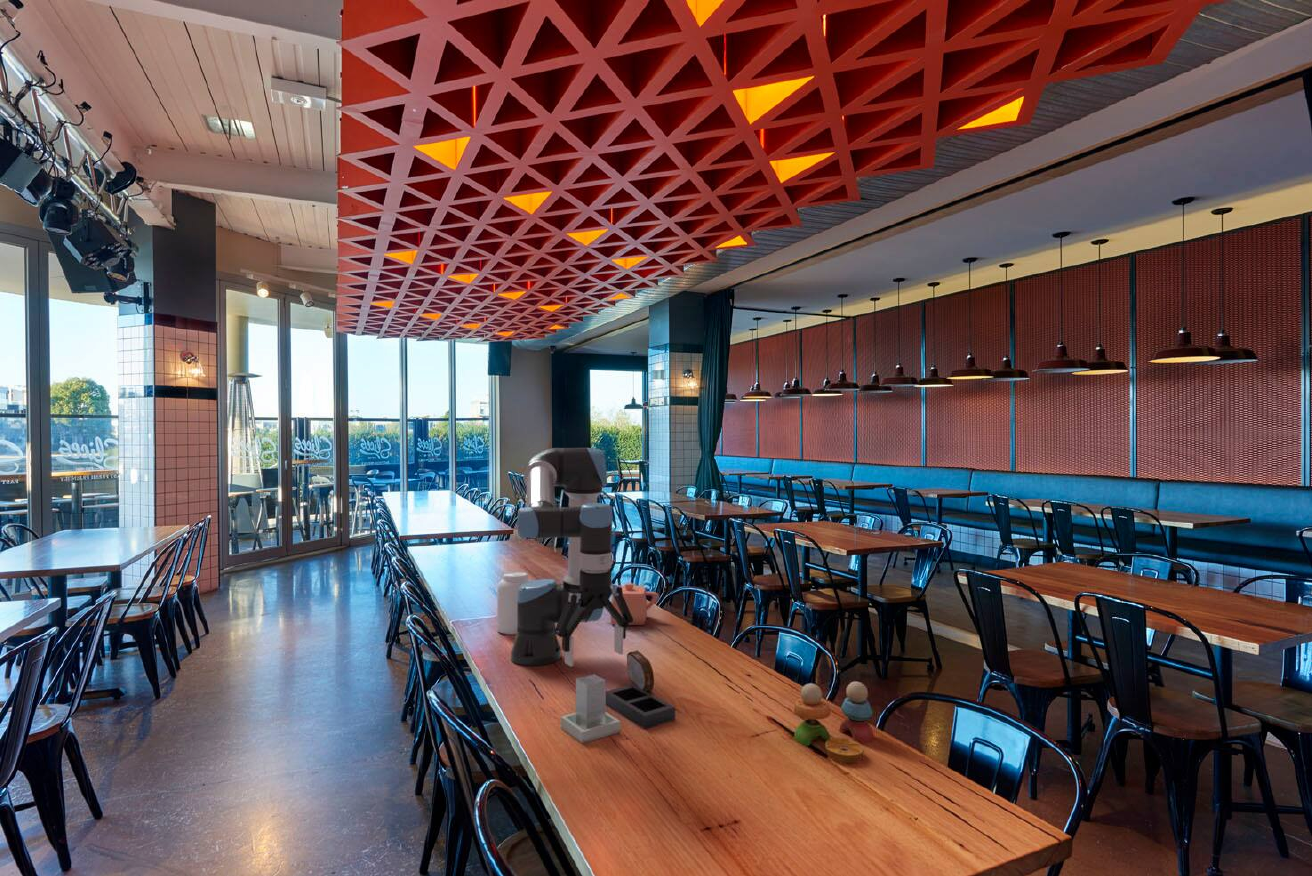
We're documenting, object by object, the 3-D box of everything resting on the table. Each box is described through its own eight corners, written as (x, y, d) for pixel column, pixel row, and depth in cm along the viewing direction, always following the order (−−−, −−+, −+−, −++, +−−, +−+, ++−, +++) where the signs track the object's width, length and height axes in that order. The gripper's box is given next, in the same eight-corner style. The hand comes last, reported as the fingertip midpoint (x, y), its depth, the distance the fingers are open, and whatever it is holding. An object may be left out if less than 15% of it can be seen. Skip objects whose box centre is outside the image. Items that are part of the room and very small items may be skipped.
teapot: (658, 627, 236) (658, 588, 236) (597, 626, 236) (597, 588, 236) (658, 612, 256) (659, 577, 256) (602, 612, 256) (602, 576, 256)
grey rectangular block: (575, 726, 152) (576, 678, 152) (594, 720, 155) (594, 674, 155) (586, 734, 148) (586, 685, 148) (605, 728, 151) (605, 680, 151)
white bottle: (540, 628, 232) (541, 572, 232) (515, 637, 222) (515, 578, 222) (514, 623, 239) (515, 568, 239) (489, 631, 228) (489, 574, 229)
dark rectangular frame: (603, 703, 167) (603, 691, 167) (633, 695, 172) (633, 684, 172) (644, 729, 152) (644, 716, 152) (675, 719, 157) (675, 707, 157)
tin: (655, 695, 173) (655, 663, 173) (643, 696, 172) (644, 664, 172) (635, 675, 187) (635, 646, 187) (624, 677, 186) (625, 647, 186)
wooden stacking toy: (837, 770, 134) (837, 709, 134) (786, 735, 150) (786, 681, 150) (902, 752, 142) (903, 695, 142) (847, 721, 157) (847, 669, 158)
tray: (560, 727, 153) (560, 716, 153) (597, 717, 158) (597, 706, 158) (582, 743, 144) (582, 732, 144) (620, 732, 150) (620, 721, 150)
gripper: (555, 580, 144) (554, 675, 145) (647, 566, 159) (646, 652, 159) (540, 573, 150) (539, 664, 151) (630, 560, 165) (629, 643, 166)
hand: (594, 658), depth 155 cm, fingers open, 13 cm apart
